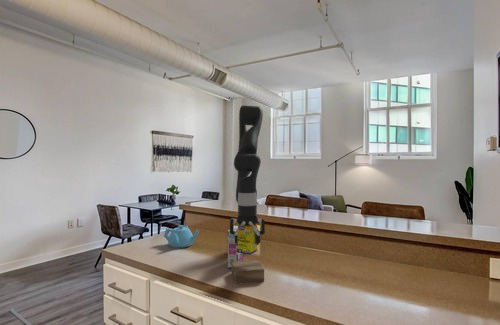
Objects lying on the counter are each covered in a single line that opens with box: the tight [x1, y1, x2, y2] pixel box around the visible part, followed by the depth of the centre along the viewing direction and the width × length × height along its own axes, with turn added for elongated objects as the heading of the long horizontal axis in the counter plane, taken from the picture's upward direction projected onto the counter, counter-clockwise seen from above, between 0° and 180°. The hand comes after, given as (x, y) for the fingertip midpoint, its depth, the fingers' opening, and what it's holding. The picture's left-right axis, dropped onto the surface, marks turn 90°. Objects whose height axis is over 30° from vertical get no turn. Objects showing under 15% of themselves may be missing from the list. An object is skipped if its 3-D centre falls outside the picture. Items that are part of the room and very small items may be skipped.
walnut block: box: [231, 259, 265, 285], centre depth 117 cm, size 11×11×5 cm
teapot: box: [163, 224, 200, 249], centre depth 162 cm, size 15×15×11 cm
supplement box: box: [237, 223, 258, 256], centre depth 117 cm, size 6×6×11 cm
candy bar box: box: [226, 225, 244, 269], centre depth 131 cm, size 11×5×16 cm, turn 168°
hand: (247, 244), depth 117 cm, fingers closed on supplement box, 7 cm apart
